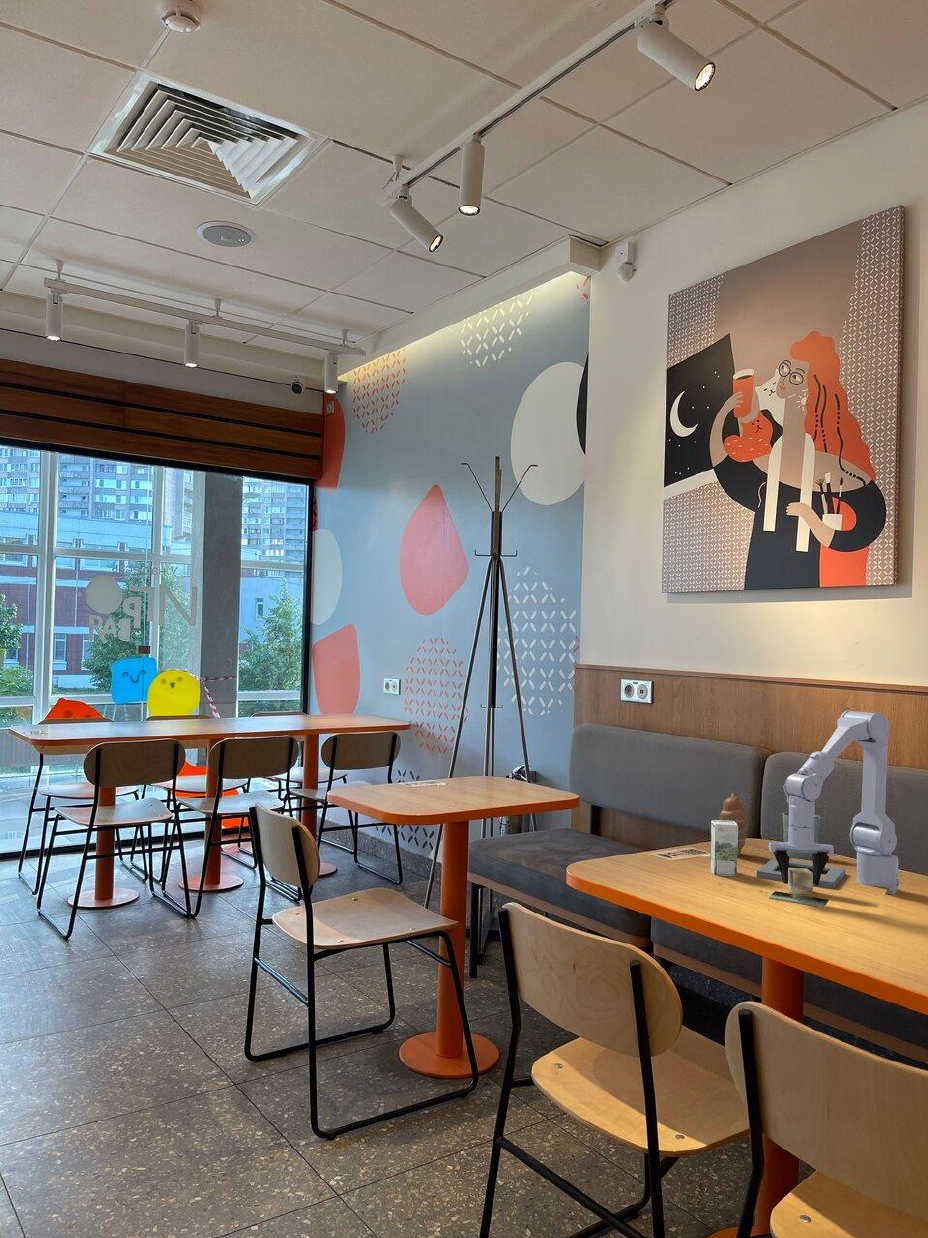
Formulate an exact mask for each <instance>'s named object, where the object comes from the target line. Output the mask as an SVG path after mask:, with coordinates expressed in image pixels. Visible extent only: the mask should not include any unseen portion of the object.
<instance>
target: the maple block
mask: <svg viewBox="0 0 928 1238" xmlns="http://www.w3.org/2000/svg"><path fill="white" fill-rule="evenodd" d="M786 888H787V890H788V891H789V892H790V893H789V892H787V893H788V894H789V895H790V896H791V897H792V898H799V899H813V897H814V896H810V895H813V892H814V886H813V871H812V870H808V869H805V868H792V867H788V884H786Z"/></svg>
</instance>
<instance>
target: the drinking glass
mask: <svg viewBox="0 0 928 1238" xmlns="http://www.w3.org/2000/svg"><path fill="white" fill-rule="evenodd" d="M781 816H782V831H783V834H782V835H783V842H788V830H789V811H786V812H782V815H781ZM821 820H822V819H821V816H820V815H817V814H814V843H816V844H819V843H818V840H819V832H820V823H821ZM794 850H795V849H794ZM787 853H788V856H789V857H790V859H795V860H803V861H813V860H812V853H798V852H787Z"/></svg>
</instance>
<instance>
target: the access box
mask: <svg viewBox="0 0 928 1238" xmlns="http://www.w3.org/2000/svg"><path fill="white" fill-rule="evenodd" d="M778 868H779V865H778V862H777V860H776V857H775V858H774V857H773V858H771V859H770V860H768V861H767V862H766V863H765V864H763V866H761V867H760V868H759V869H757V870H756V878H759V879H765V880H773V881H777V882H778V881H779V882H782V875H781V871H779V870H778V871H777V869H778ZM788 868H805V869H808V870H809V871H811V872H813V863H809V862H804V861H795V860H790V859H789V866H788ZM822 873H826V874H824V876H823V877H820V880H819V885H815V884H813V887H817V888H825V889H831V890H834V889H835V888H836V886H837V885H838V884H839V883H840V882H841V880H842V879H843V878H844V877H845V875H846V867H840V866H832V865H825V867H824V869H823V871H822Z"/></svg>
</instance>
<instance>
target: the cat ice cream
mask: <svg viewBox="0 0 928 1238" xmlns="http://www.w3.org/2000/svg"><path fill="white" fill-rule="evenodd" d="M722 805H723V806H722V810H721V811H720V813H719V820H723V821H734V822H736V824H737V826H738V848H737V857H739V856H741V853H742V850H743V848H744V847H745V846H746V845H745V844H746V840H747V837H748V833H747V831H748V828H749V823H748V817H749V814H748V813H747V811H746V806H745V803H743V801H742V800H741V799H740V798H739V796H736V795H735V793H733V792H732V793H731V795H730V796H729V797H727V798H726V799H725V800H724V801H723V804H722Z"/></svg>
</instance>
